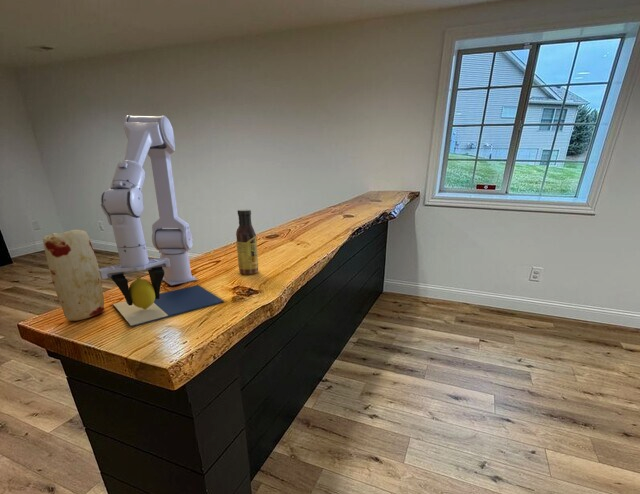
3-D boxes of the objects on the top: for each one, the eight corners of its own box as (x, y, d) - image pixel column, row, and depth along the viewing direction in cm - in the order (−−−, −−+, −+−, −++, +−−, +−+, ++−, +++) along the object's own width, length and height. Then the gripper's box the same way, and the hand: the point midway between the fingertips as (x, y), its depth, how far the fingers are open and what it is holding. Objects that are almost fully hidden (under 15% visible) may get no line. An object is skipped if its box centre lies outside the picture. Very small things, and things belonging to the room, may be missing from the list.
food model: (77, 327, 76) (49, 236, 68) (57, 321, 78) (28, 233, 71) (116, 310, 85) (96, 227, 77) (97, 306, 87) (75, 225, 79)
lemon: (148, 315, 81) (141, 282, 78) (127, 312, 82) (119, 280, 79) (162, 306, 86) (157, 275, 83) (143, 304, 87) (136, 273, 84)
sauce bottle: (256, 275, 110) (252, 211, 102) (237, 275, 110) (230, 211, 102) (260, 269, 116) (256, 208, 108) (241, 269, 116) (236, 208, 108)
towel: (113, 305, 87) (112, 303, 87) (198, 286, 101) (198, 284, 101) (131, 327, 76) (130, 325, 76) (223, 302, 90) (223, 300, 90)
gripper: (98, 253, 71) (113, 314, 76) (170, 243, 79) (180, 298, 85) (91, 247, 75) (106, 304, 81) (160, 238, 84) (169, 290, 90)
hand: (143, 300), depth 83 cm, fingers closed on lemon, 5 cm apart
